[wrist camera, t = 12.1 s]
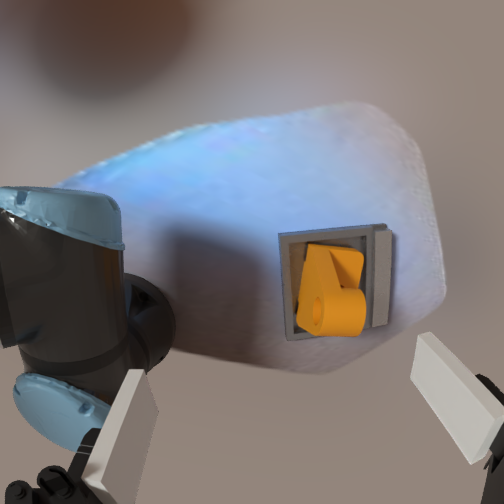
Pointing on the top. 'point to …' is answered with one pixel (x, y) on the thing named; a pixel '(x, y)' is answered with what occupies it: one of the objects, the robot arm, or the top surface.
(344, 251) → the bracket
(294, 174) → the top surface
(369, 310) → the tray
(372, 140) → the top surface
